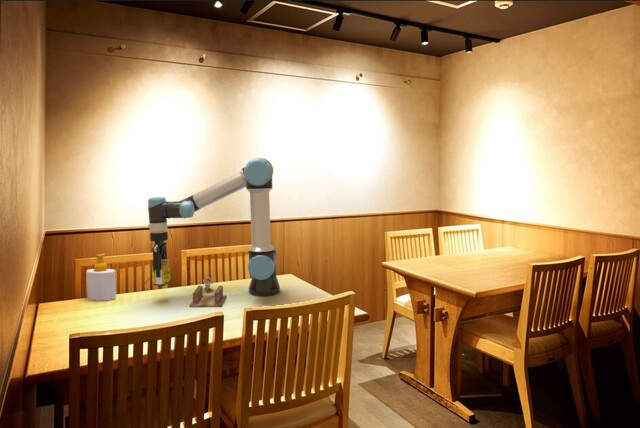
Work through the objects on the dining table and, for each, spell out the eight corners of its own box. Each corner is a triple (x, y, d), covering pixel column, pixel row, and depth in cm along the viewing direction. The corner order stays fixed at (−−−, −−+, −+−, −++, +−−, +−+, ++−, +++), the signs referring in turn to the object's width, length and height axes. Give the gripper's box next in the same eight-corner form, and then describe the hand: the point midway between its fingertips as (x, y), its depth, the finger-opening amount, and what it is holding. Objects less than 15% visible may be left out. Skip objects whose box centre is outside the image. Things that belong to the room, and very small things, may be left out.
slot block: (226, 297, 219) (226, 284, 218) (221, 306, 205) (221, 293, 204) (196, 297, 218) (195, 285, 217) (189, 307, 204) (189, 293, 204)
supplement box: (164, 286, 209) (163, 262, 208) (152, 285, 210) (150, 261, 209) (171, 282, 215) (169, 259, 213) (159, 282, 216) (157, 258, 215)
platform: (218, 285, 241) (217, 272, 240) (223, 295, 224) (223, 281, 223) (194, 287, 237) (193, 274, 236) (197, 297, 220) (197, 283, 219)
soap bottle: (120, 296, 219) (118, 253, 217) (109, 301, 211) (107, 257, 209) (94, 295, 221) (92, 252, 219) (83, 300, 213) (80, 256, 211)
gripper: (156, 228, 219) (159, 276, 222) (142, 235, 200) (146, 288, 202) (173, 228, 220) (175, 276, 222) (160, 235, 200) (164, 287, 203)
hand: (161, 281), depth 212 cm, fingers closed on supplement box, 7 cm apart
